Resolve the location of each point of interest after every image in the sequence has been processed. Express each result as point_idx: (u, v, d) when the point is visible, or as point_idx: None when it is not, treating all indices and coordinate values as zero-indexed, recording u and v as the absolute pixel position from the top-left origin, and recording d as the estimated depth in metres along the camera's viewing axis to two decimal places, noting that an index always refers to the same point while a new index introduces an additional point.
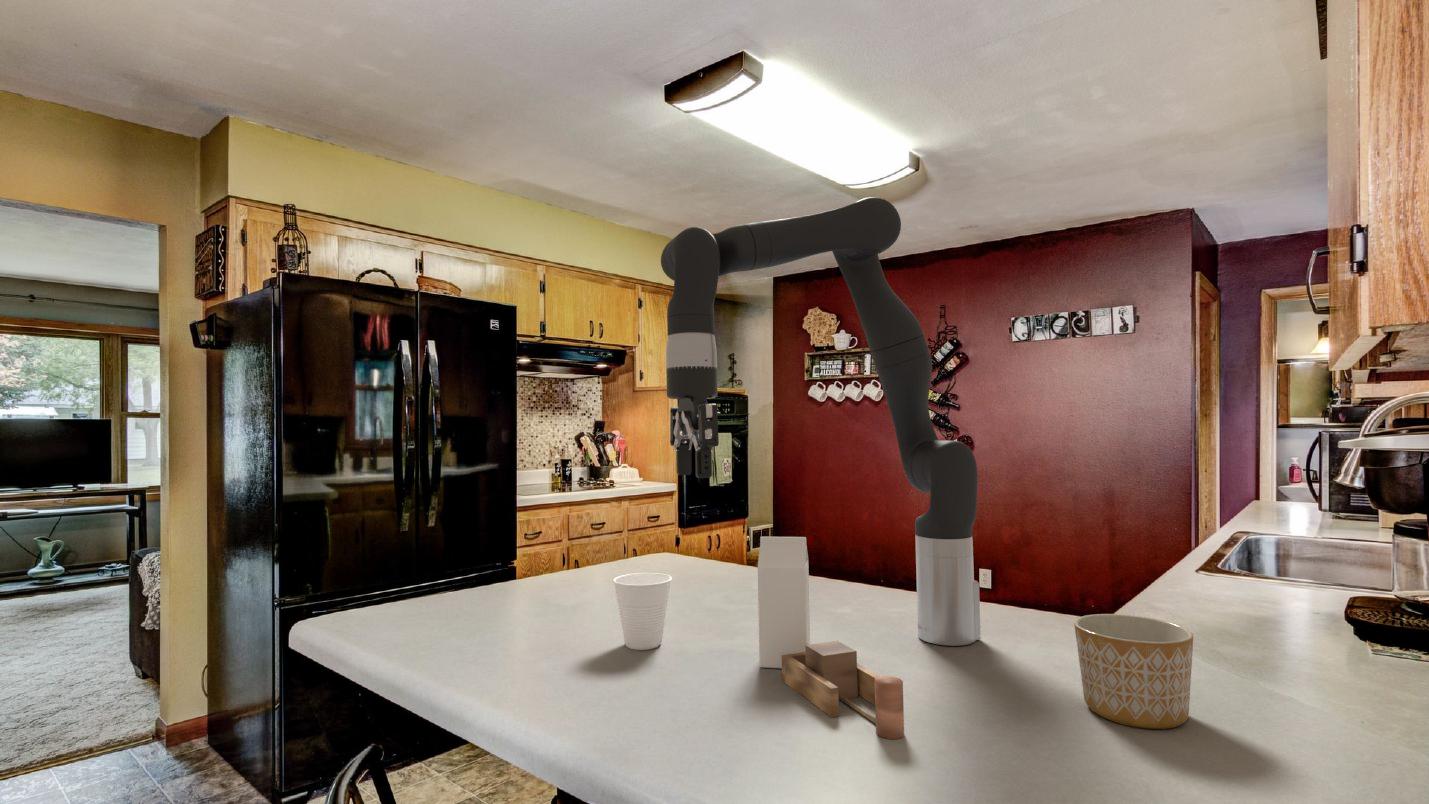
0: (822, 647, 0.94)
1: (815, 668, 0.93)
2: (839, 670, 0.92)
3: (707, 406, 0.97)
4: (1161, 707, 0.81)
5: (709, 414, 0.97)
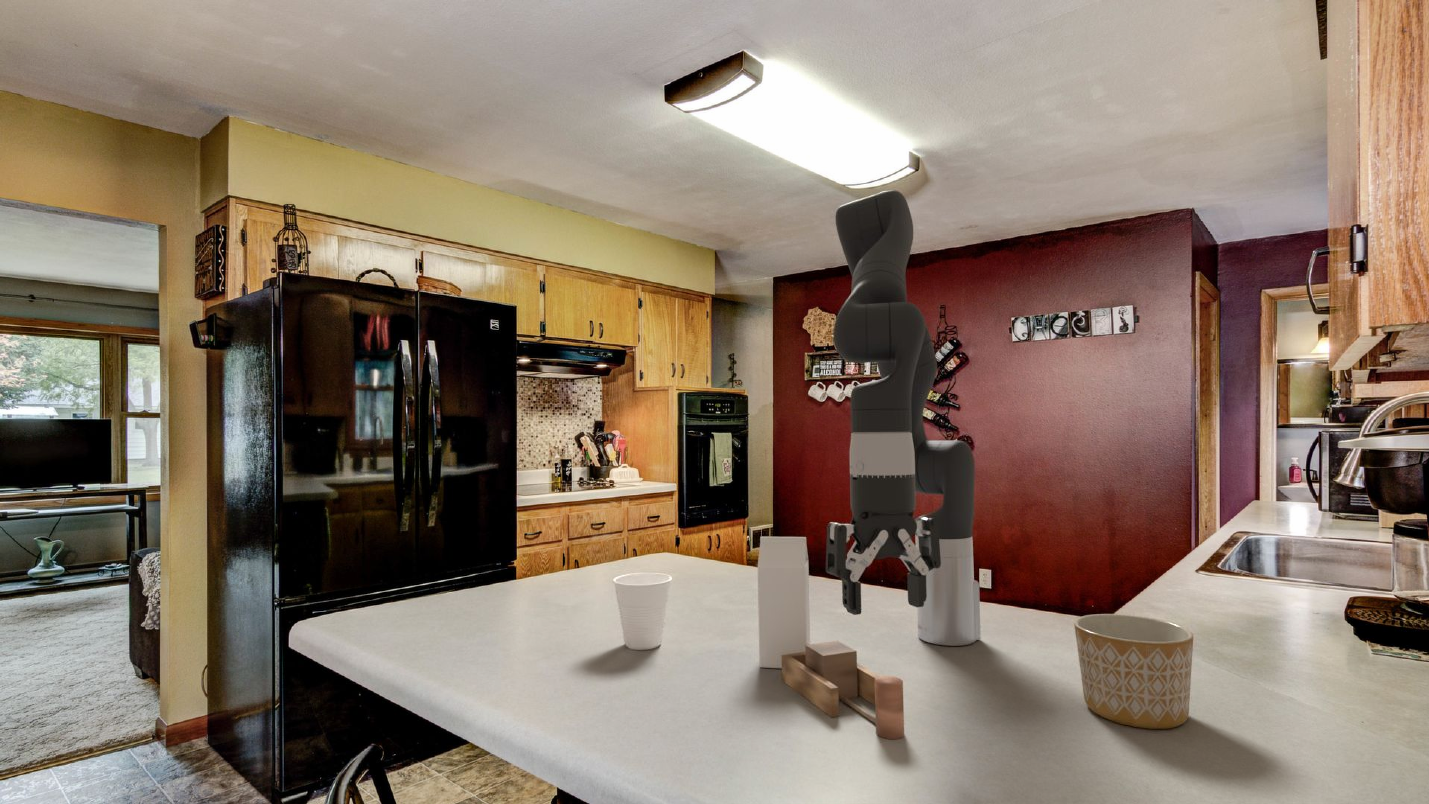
0: (822, 647, 0.94)
1: (815, 668, 0.93)
2: (839, 670, 0.92)
3: None
4: (1161, 707, 0.81)
5: None
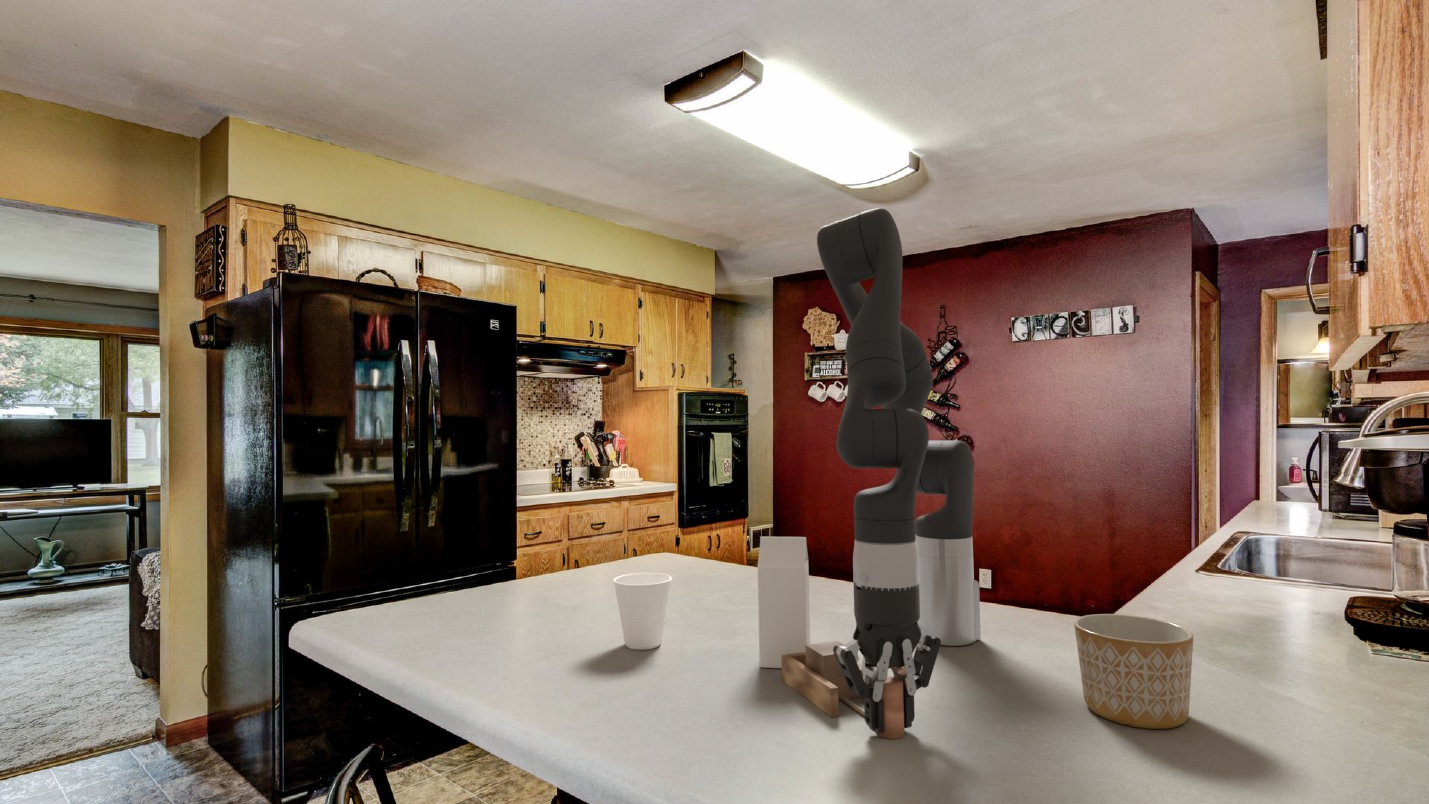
0: (822, 647, 0.94)
1: (815, 668, 0.93)
2: (839, 670, 0.92)
3: None
4: (1161, 707, 0.81)
5: None
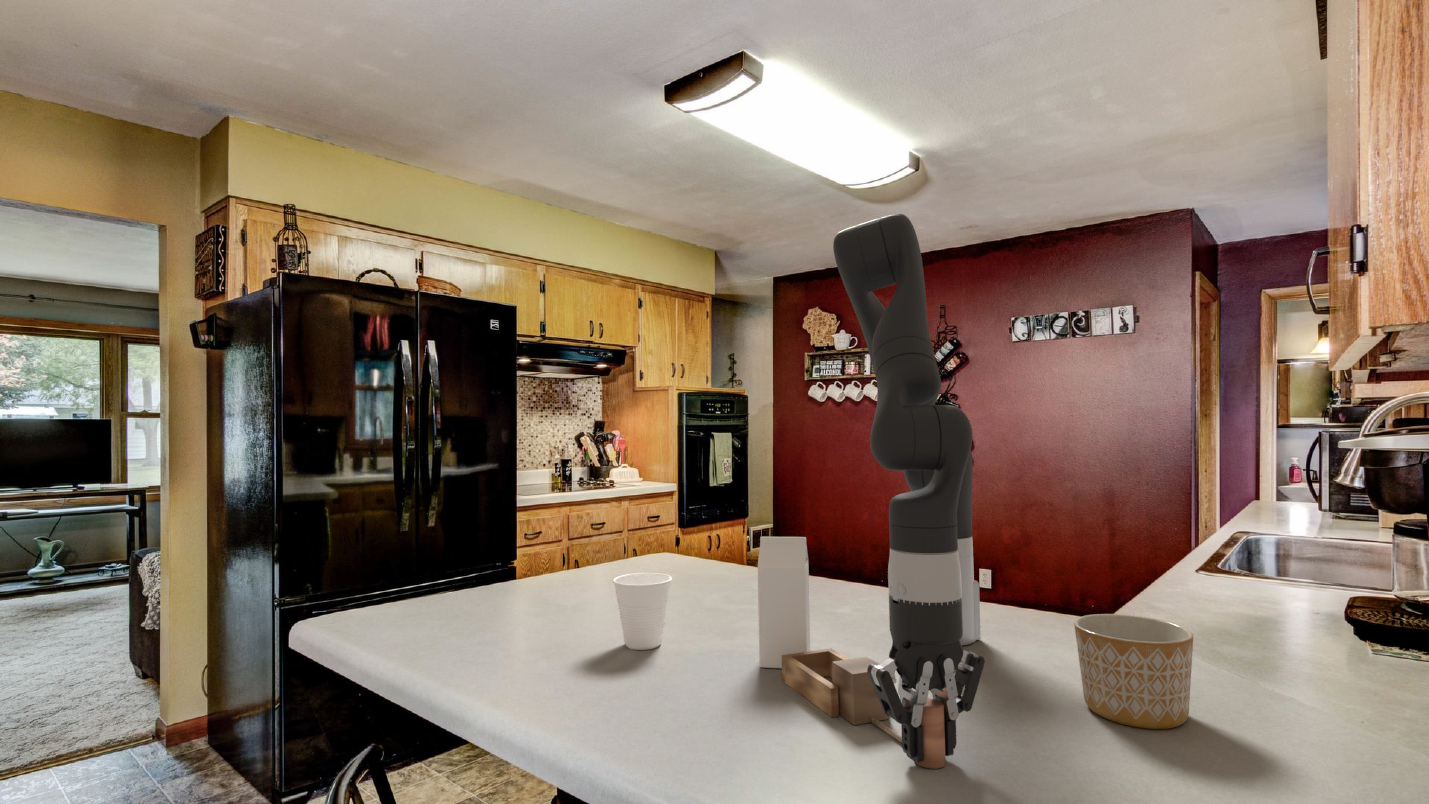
0: (851, 664, 0.87)
1: (843, 687, 0.86)
2: (869, 690, 0.85)
3: None
4: (1161, 707, 0.81)
5: None
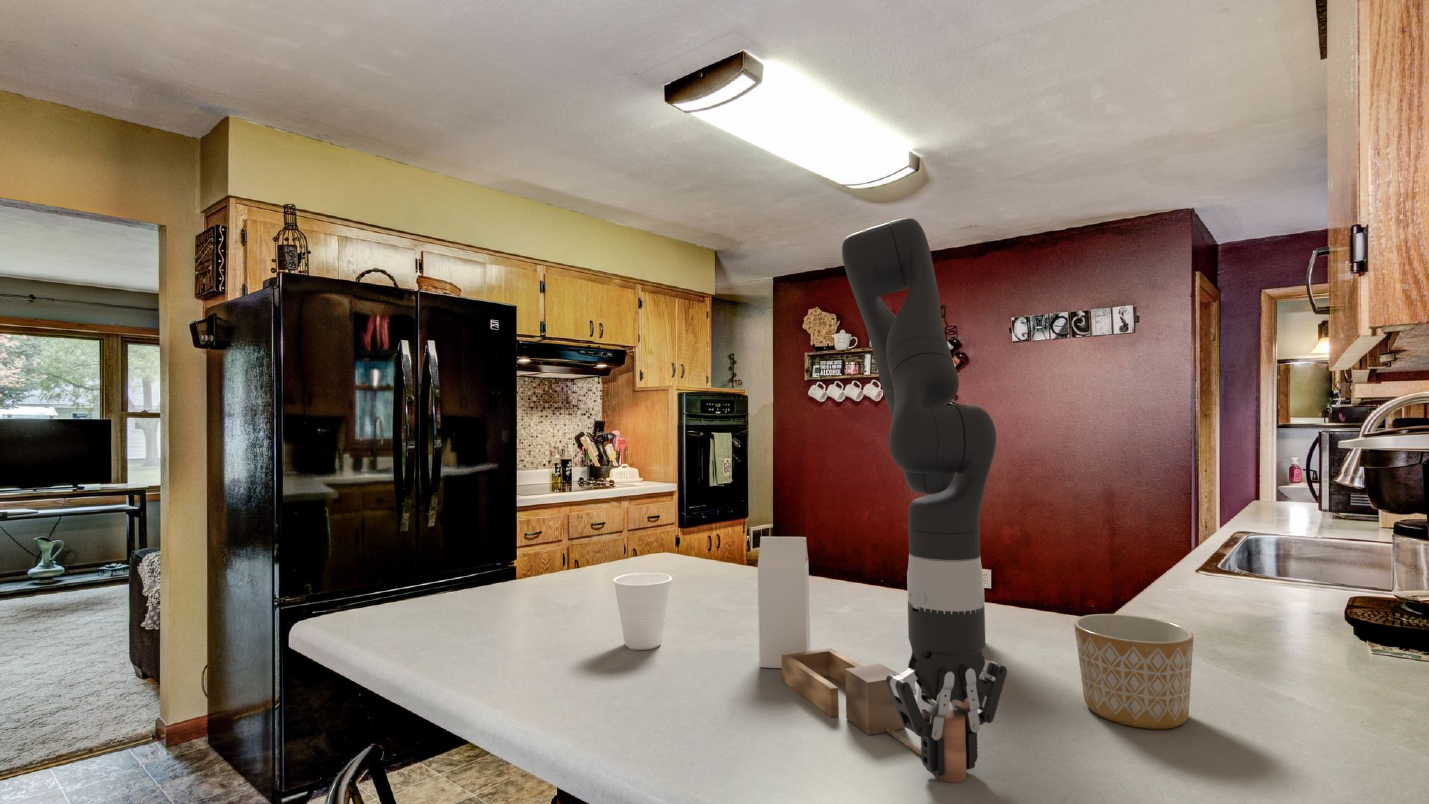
0: (865, 672, 0.84)
1: (858, 695, 0.83)
2: (885, 699, 0.82)
3: None
4: (1161, 707, 0.81)
5: None
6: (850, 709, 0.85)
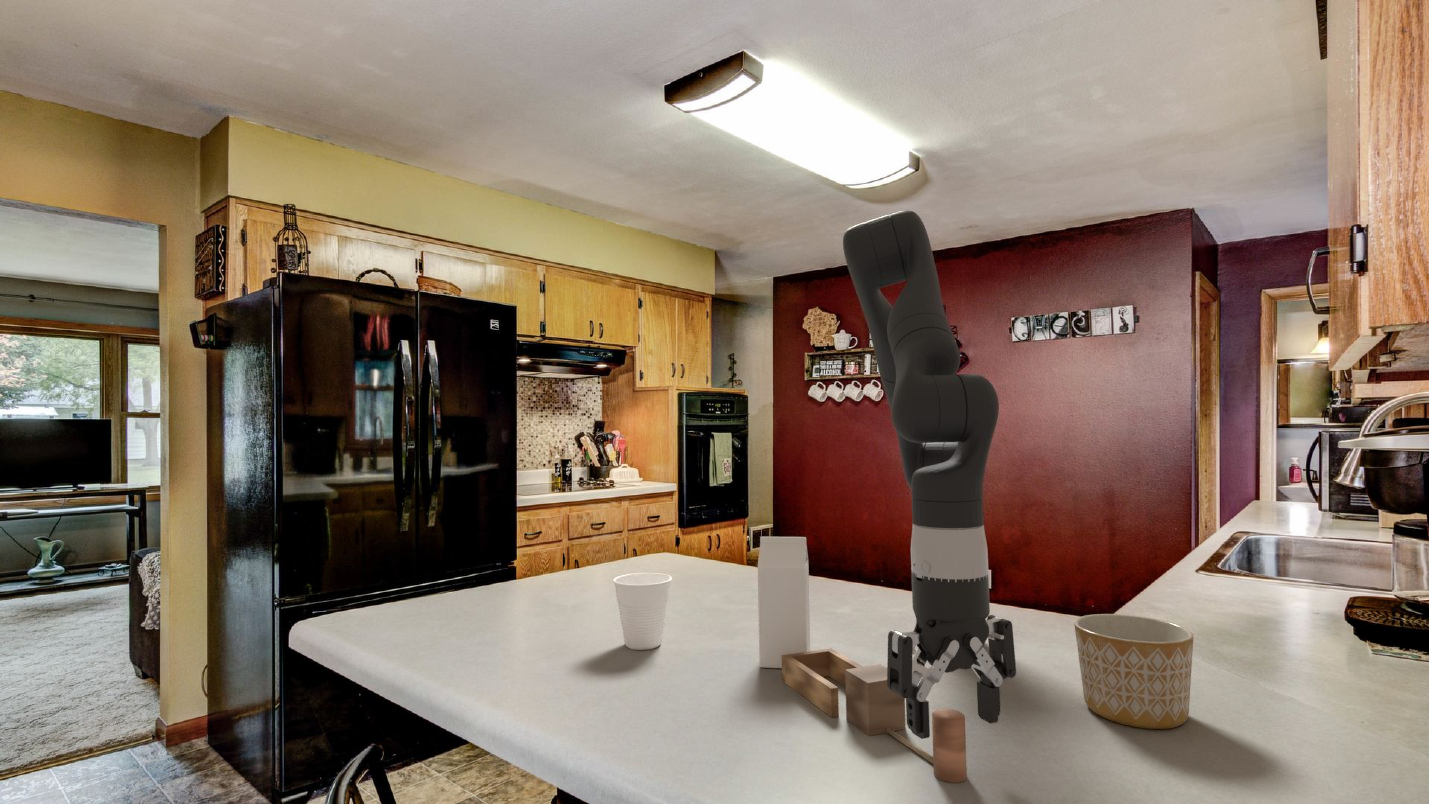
0: (865, 672, 0.84)
1: (858, 696, 0.83)
2: (885, 699, 0.82)
3: None
4: (1161, 707, 0.81)
5: None
6: (850, 710, 0.85)
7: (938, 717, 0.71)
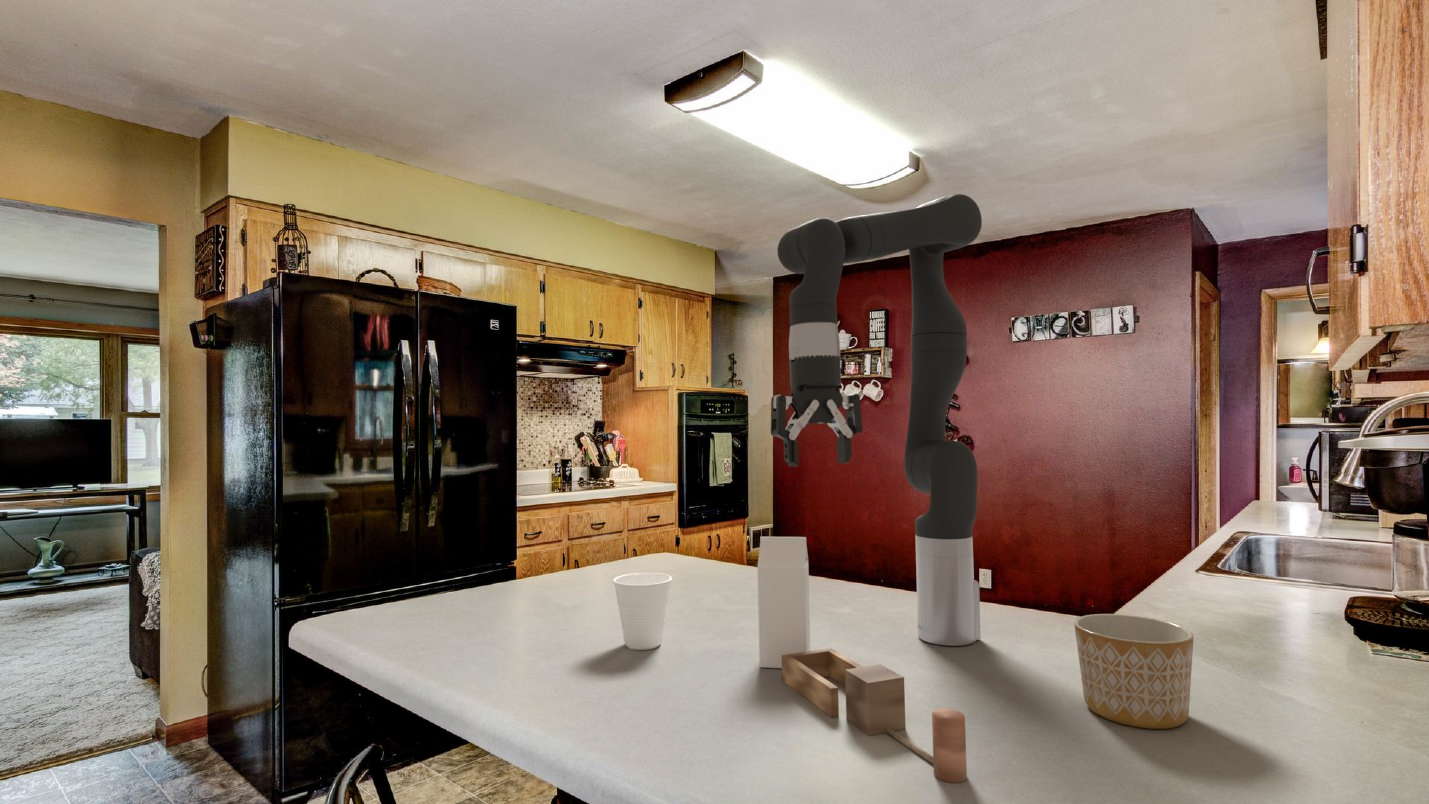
0: (865, 672, 0.84)
1: (858, 696, 0.83)
2: (885, 699, 0.82)
3: None
4: (1161, 707, 0.81)
5: None
6: (850, 710, 0.85)
7: (938, 717, 0.71)
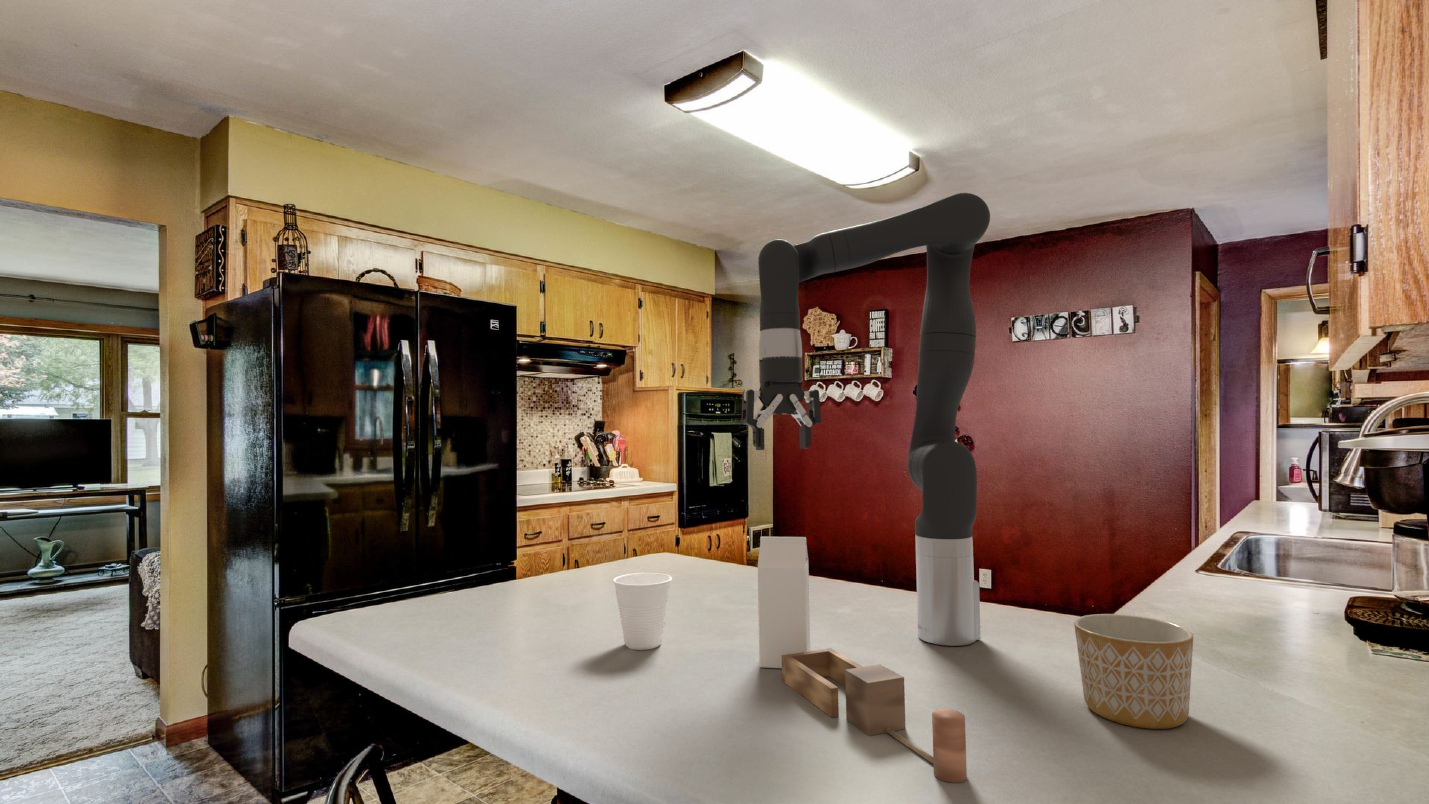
0: (865, 672, 0.84)
1: (858, 696, 0.83)
2: (885, 699, 0.82)
3: None
4: (1161, 707, 0.81)
5: None
6: (850, 710, 0.85)
7: (938, 717, 0.71)
